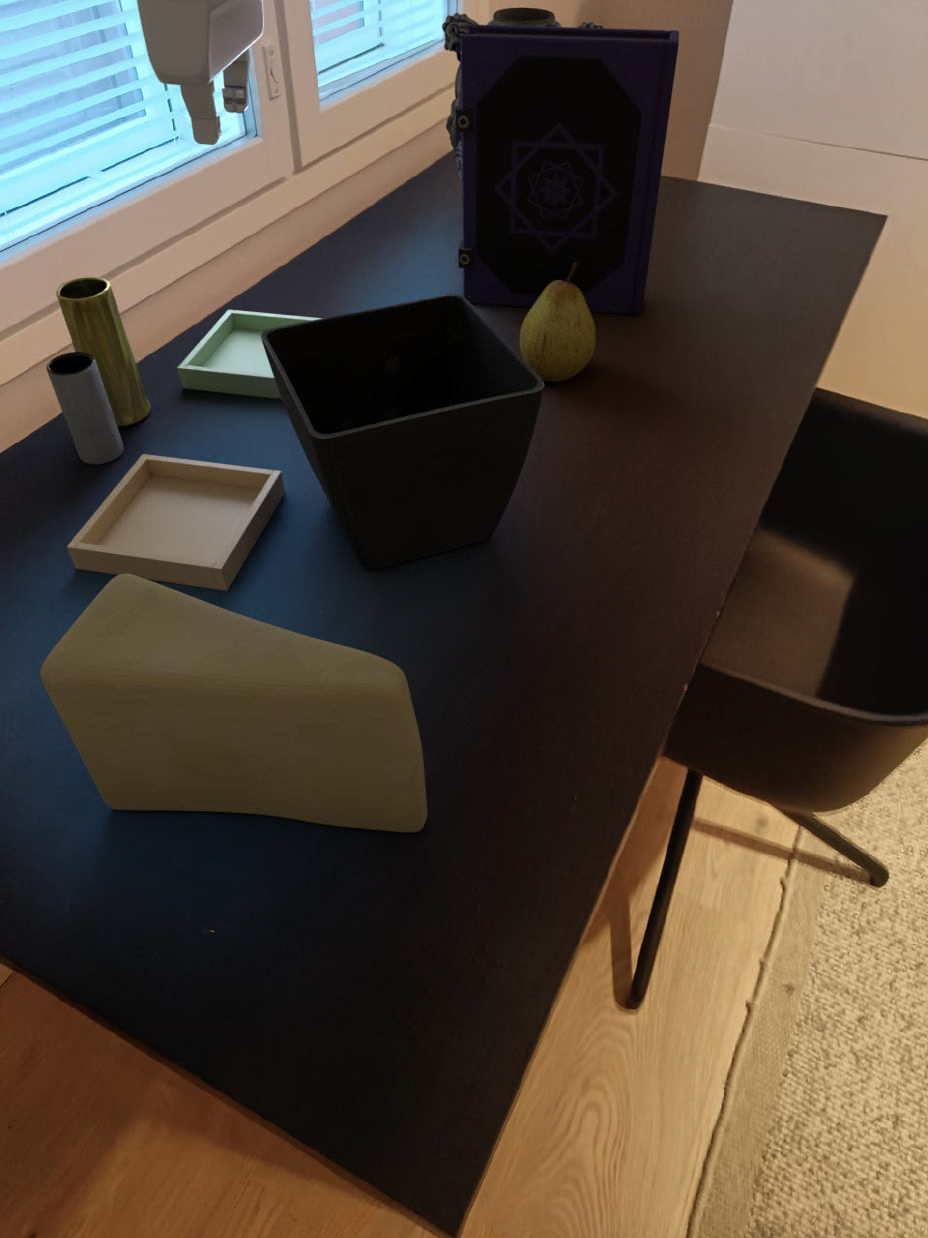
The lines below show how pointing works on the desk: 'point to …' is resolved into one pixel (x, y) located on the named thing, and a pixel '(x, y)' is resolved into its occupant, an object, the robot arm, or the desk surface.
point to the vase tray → (235, 355)
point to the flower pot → (408, 422)
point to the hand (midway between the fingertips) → (223, 125)
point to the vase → (104, 344)
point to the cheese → (234, 714)
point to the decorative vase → (453, 43)
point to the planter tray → (179, 522)
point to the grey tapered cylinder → (85, 407)
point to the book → (562, 160)
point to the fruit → (558, 332)
